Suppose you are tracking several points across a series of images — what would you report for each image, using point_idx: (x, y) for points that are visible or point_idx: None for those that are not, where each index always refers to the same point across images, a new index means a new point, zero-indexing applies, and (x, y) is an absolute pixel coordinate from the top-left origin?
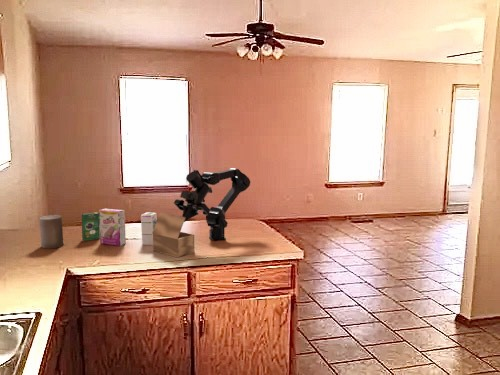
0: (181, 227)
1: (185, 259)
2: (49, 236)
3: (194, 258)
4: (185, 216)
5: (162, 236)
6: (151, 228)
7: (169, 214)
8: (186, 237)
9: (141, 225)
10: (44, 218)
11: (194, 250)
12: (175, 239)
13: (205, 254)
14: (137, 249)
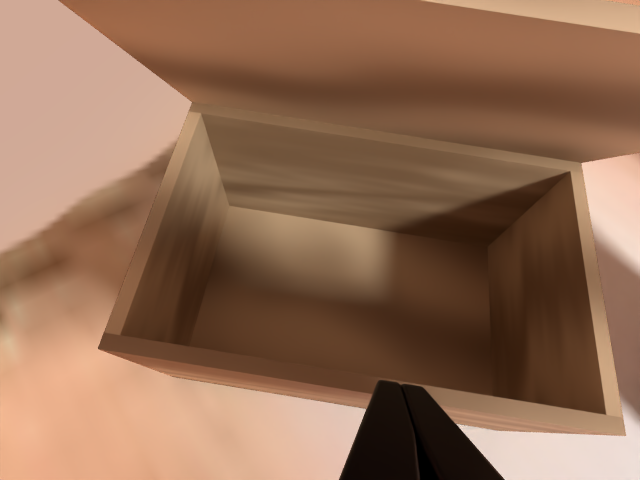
0: (126, 44)
1: (148, 194)
2: None
3: (95, 241)
4: (351, 470)
5: (421, 143)
6: None
7: (594, 5)
8: (152, 218)
9: None
10: None
11: (167, 374)
12: (221, 110)
13: (48, 378)
14: (608, 219)
